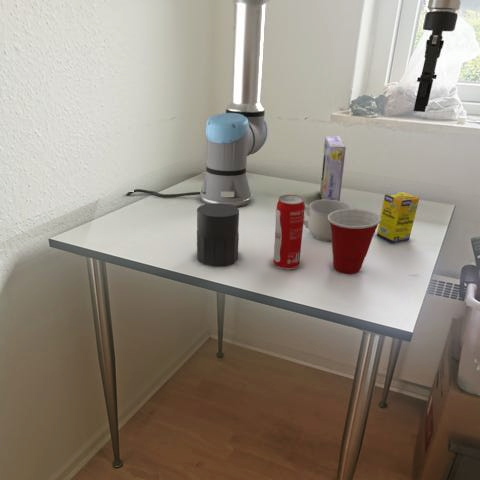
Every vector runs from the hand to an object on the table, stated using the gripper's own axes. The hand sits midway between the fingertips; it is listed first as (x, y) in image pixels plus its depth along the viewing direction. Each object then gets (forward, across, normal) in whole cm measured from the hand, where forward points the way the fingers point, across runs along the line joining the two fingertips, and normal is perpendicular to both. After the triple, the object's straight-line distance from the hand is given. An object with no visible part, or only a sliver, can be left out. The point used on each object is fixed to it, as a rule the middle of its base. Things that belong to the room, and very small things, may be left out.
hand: (420, 108), depth 123 cm
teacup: (+28, -29, +16) cm, 44 cm away
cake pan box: (+28, +2, +21) cm, 35 cm away
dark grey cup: (+28, -53, +34) cm, 69 cm away
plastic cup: (+28, -46, +7) cm, 55 cm away
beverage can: (+28, -50, +19) cm, 61 cm away
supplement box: (+28, -22, -1) cm, 36 cm away
